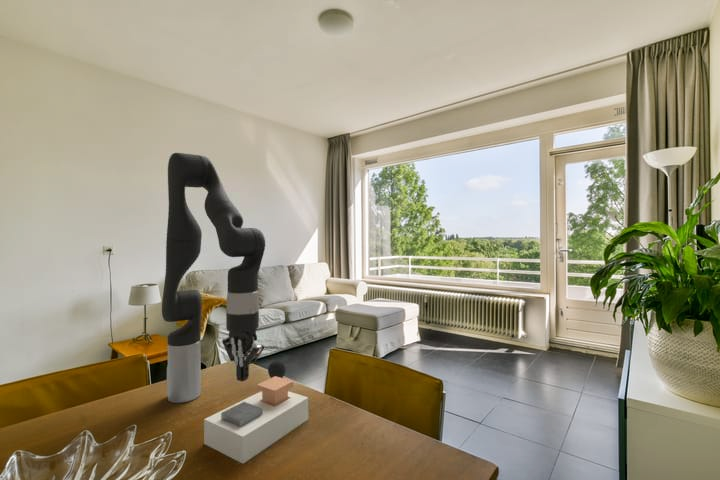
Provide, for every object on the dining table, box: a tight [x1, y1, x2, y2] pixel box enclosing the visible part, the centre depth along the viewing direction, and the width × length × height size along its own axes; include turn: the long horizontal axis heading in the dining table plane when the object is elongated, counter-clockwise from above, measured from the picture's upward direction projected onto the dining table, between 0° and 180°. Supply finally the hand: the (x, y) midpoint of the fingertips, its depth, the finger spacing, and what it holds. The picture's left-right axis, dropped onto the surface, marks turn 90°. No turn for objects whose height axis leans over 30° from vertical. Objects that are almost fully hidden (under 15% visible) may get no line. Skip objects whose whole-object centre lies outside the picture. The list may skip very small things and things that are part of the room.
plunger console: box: [203, 390, 309, 464], centre depth 89 cm, size 14×22×6 cm, turn 148°
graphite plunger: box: [221, 402, 263, 427], centre depth 85 cm, size 7×7×6 cm
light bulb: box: [267, 359, 287, 379], centre depth 112 cm, size 6×6×10 cm
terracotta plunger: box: [256, 376, 294, 406], centre depth 94 cm, size 7×7×6 cm
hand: (242, 379), depth 85 cm, fingers closed
